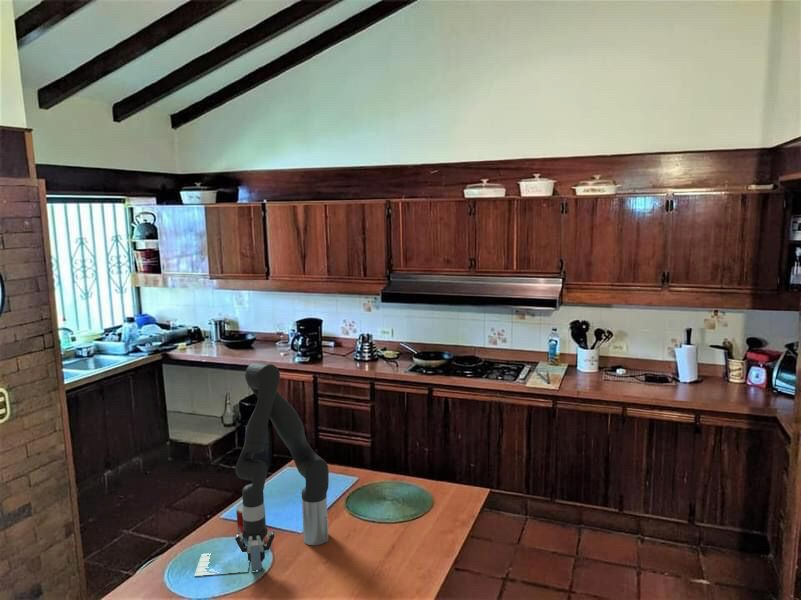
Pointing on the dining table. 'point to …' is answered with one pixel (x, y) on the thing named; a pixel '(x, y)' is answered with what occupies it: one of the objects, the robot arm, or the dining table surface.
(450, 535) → the dining table surface
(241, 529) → the canned food
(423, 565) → the dining table surface
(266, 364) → the robot arm
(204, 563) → the notepad
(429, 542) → the dining table surface
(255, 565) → the grey rectangular block
